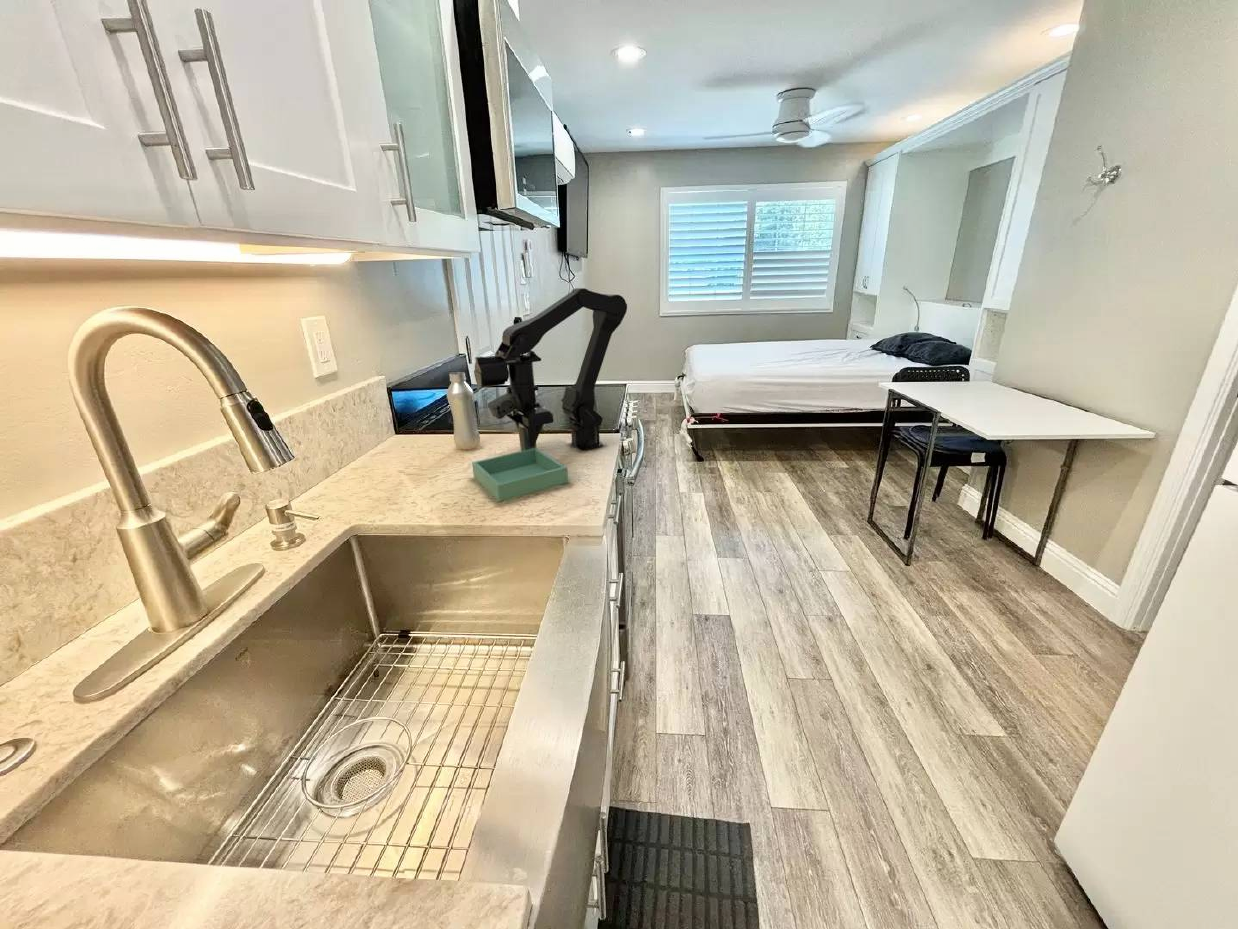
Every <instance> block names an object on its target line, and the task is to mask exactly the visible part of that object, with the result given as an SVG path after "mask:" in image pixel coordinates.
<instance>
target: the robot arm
mask: <svg viewBox="0 0 1238 929" xmlns="http://www.w3.org/2000/svg"><path fill="white" fill-rule="evenodd" d="M583 308H584V309H588V310H591V311H592V323H593V328H592V332H591V335H590V338H589V341H588V344H587V347H586V351H585V354H584V357H583V360H582V363H581V365H580V366H581V367H580V369H579V373H578V375H577V378H576V382H575V383H574V384H573V385H572V387H569V386H565V389H564V394H563V397H562V399H561V400H560V402H562V405H561V409H562V411H563V414H565V415H566V416H567V417H568V418H569V420H570V421H571V422H573V423H572V425H571V426H572V427H571V428H572V429H571V430H570V434H571V442H570V446H572V447H574V448H576V449H578V450H579V451H582V452H585V451H589V450H592V449H596V448H600V447H603V446H604V443H602V442H601V441H600V427H601V426H602V423H603V419H604V418H603V416H601V415H600V414H599V413H598V412H597V411H595V404H596V395H595V388H596V384H597V381H598V378H599V374H600V371H601V369H602V366H603V363H604V359H605V356H606V353H607V350H608V347H609V345H610V341H611V339H612V335H613V333H614V332H615V331H616V330H617V328H619V327H620V325H621V324H622V322H623V320H624V318H625V316H626V314H627V311H628V304H627V302H626V299H625V298H624V297H623V296H622V295H621V294H614V293H613V294H612V293H599V292H595V291H592V290H589V289H587V288H585V287H584V288H583V287H575V288H573V289H572V290H571V291H570V292H569V293H567V294H566V295H565V296H563V297H562V298H560V299H559V300H557V301H556V302H554V303H553V304H551V305H550V306H548V307H547V308H545V309H544V310H542V311H541V312H540V313H538V314H537V315H535V316H533V317H531V318H529V319H525V320H523V321H519V322H517V323H515V324H512V325H510V326H507V327H506V328H505V329H504V330H503V332H502V337H501V342H500V344H499V346H498V348H497V349H496V351H495V353H494V355H488V356H482V355H481V356H480V355H479V356H475V357H474V359H475V360H474V361H475V363H474V370H473V375H474V380H475V382H476V385H477V387H478V388H479V389H481V388H483V389H484V388H490V387H497V386H503V385H505V384H506V382H508V381H509V385H507V387H506V393H505V394H502V395H500V396H498V397H497V398H495V399H493V400H491V401H489V402H487V407H488V409H489V411H490V413H491V415H492V417H495V418H496V419H497V420H501V419H503V418H505V417H507V418H509V419H510V420H512V421H513V422H514V424H515V426H516V428H517V431H518V433H519V430H518V426H519V423H520V424H521V425H522V426H524V427H525V430H526V434H527V438H528V442H529V446H530V447H534V446H535V444H537V441H538V438H539V435H540V433H541V431H542V429H543V426H544V425H548V424H553V423H554V414H553V413H552V412H551V411H550V410H548V409H546V408H544V407H541V406H540V402H538V401H537V394H536V392H537V391H539V385H537V384H535V373H534V364H533V363H537V362H542V358H541V357H540V356H539V355H537V354H536V352H535V351H534V350H533V349H535V347H536V346H537V345H538V344H539V343H540V342H541V340H542V339H543V337H544V336H545V335H546V334H547V333H548V332H549V331H551V330H552V329H554V328H555V327H556V326H559V325H560V324H561V323H562V322H564V321H566V320H567V319H568V318H570V317H571V316H572V315H574V314H575V313H577V312H578V311H581V309H583ZM540 407H541V408H540Z"/></svg>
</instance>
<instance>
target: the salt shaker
mask: <svg viewBox="0 0 1238 929" xmlns="http://www.w3.org/2000/svg"><path fill="white" fill-rule="evenodd" d="M518 430H519V432H518V438H519V448H520V451H524V450H528V449H533V448H537V449H538V445H537V443H536V444H535V446H534V447H530V446H529V442H528V438H527V434H526V430H525V427H524V426H522V425H521V424H520V423H519V426H518V429H517V431H518Z"/></svg>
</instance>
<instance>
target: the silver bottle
mask: <svg viewBox="0 0 1238 929" xmlns="http://www.w3.org/2000/svg"><path fill="white" fill-rule="evenodd" d="M466 380H467V377H466V373H465V372H464V371H452V372H449V381H450V382H451V383H450V385H449V386H448V388H447V391H446V398H447V401H448V405H449V408H450V412H451V415H452V422H453V442H454V445H455V446H456V447H457V448H458V449H460V450H472V449H475V448H477V447H479V445H480V444H481V436H480V432H479V430H478V427H477V423H476V419H475V410H474V391H473V389H472V388H471V387H470V385H469V384H468V383H467V382H466Z"/></svg>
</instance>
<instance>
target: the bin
mask: <svg viewBox="0 0 1238 929" xmlns="http://www.w3.org/2000/svg"><path fill="white" fill-rule="evenodd" d="M471 465H472V466H471V467H472V472H473V478H474V479H475V480H477V482H479V483H480V484H481V485H482V486H483V487H484V488H485V489H486V490H487V491H488V492H489V493H490V494H491V495H492V496H493V497H494V498H495V499H496V500H497V501H498V502H505V501H508V500H511V499H514V498H519V497H522V496H526V495H529V494H532V493H536V492H540V491H543V490H546V489H550V488H554V487H558V486H561V485H564V484H568V483H569V472H568V467H567V466H566V465H564V464H563V463H562V462H559V461H558V460H556V459H555V458H553V457H552V456H550V455H548V454H547V453H545V452H544V451H542V450H540V449H539V448H538V447H537V448H533V449H528V450H524V451H521V450H520V451H516V452H511V453H507V454H503V455H497V456H494V457H489V458H486V459H481V460H476V461H472V462H471Z"/></svg>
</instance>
